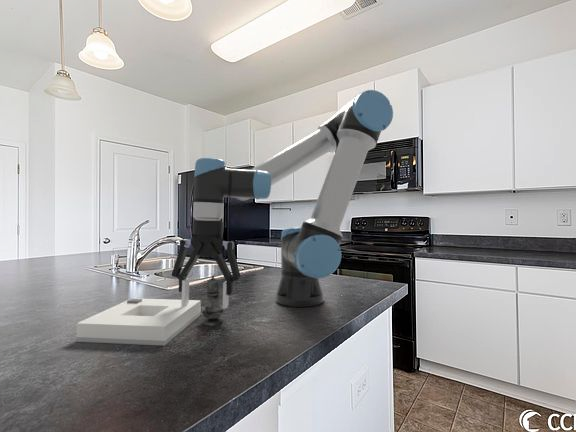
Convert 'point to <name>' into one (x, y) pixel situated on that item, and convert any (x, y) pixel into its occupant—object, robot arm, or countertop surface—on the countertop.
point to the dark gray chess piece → (212, 304)
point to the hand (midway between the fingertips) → (205, 305)
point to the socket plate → (139, 322)
